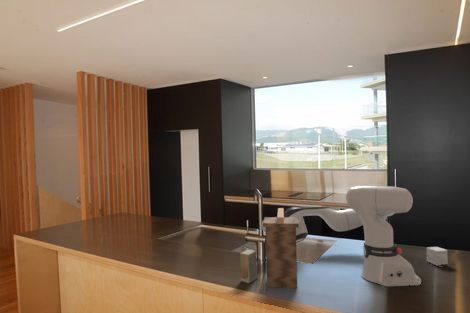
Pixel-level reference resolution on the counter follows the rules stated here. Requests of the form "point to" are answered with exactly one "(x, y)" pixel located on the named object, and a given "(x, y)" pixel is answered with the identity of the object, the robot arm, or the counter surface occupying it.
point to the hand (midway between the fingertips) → (281, 221)
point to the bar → (280, 216)
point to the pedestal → (281, 252)
